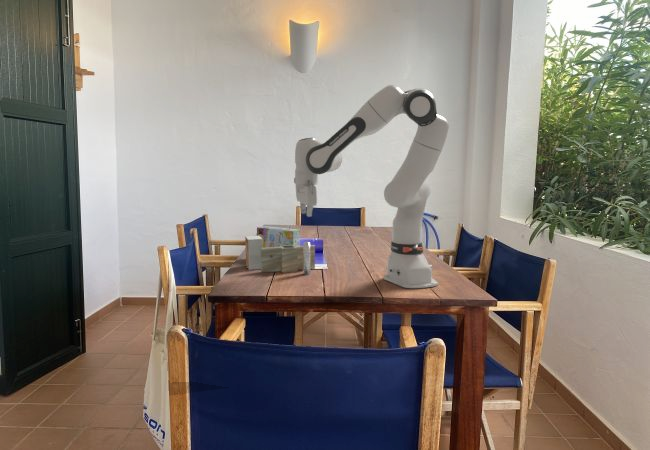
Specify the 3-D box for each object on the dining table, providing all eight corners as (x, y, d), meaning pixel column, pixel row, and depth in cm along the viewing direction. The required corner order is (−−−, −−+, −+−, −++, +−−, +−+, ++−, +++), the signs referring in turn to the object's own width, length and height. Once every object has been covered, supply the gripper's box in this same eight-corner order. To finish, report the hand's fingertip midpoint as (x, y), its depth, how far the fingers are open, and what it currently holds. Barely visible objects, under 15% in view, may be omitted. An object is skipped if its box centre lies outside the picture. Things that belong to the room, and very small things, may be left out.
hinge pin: (311, 274, 193) (310, 242, 191) (304, 275, 192) (304, 243, 190) (309, 272, 196) (309, 241, 194) (302, 273, 195) (302, 241, 193)
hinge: (316, 270, 200) (316, 246, 198) (262, 273, 194) (262, 249, 192) (312, 266, 206) (312, 243, 204) (260, 270, 200) (260, 246, 198)
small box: (245, 265, 208) (245, 236, 206) (260, 264, 210) (259, 235, 208) (248, 270, 200) (247, 239, 198) (263, 269, 202) (262, 238, 200)
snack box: (300, 262, 214) (300, 229, 212) (293, 264, 210) (292, 230, 207) (264, 256, 226) (263, 225, 224) (256, 259, 221) (255, 226, 219)
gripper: (320, 181, 179) (320, 218, 181) (308, 178, 199) (308, 211, 201) (304, 181, 177) (304, 218, 180) (293, 178, 197) (293, 211, 199)
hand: (306, 214), depth 190 cm, fingers open, 8 cm apart
